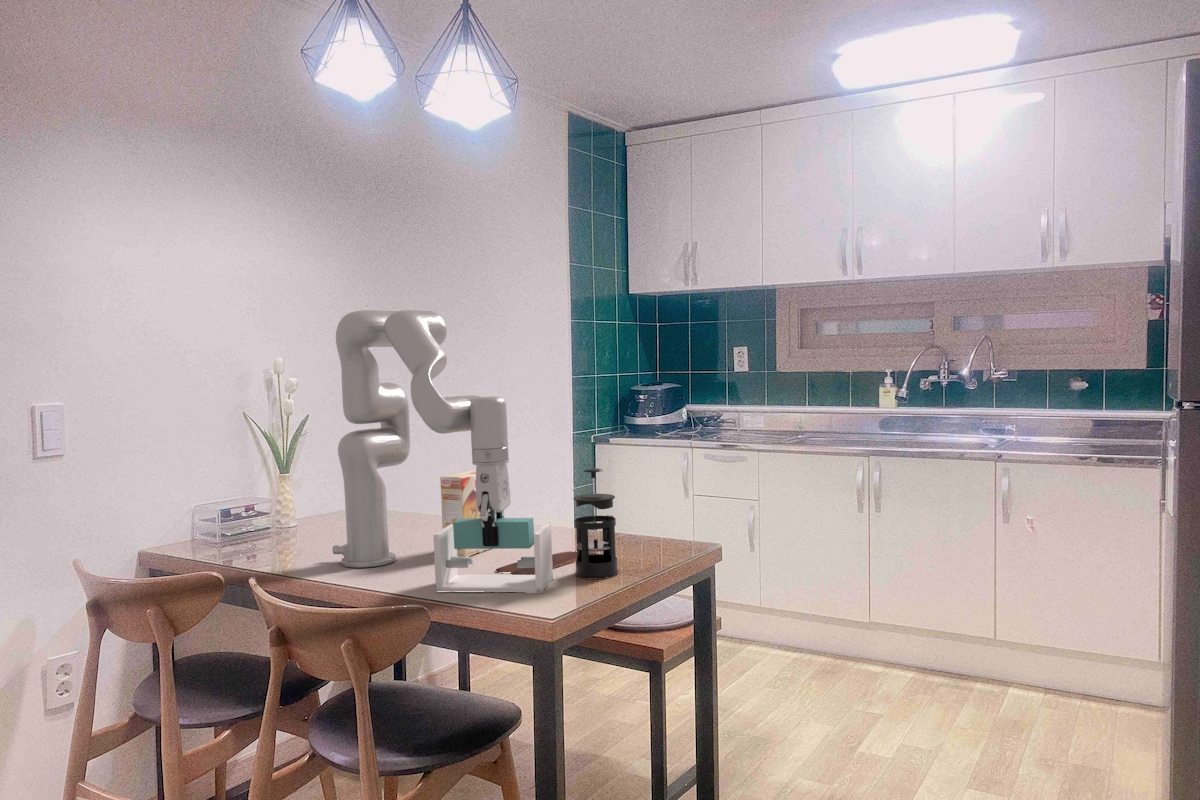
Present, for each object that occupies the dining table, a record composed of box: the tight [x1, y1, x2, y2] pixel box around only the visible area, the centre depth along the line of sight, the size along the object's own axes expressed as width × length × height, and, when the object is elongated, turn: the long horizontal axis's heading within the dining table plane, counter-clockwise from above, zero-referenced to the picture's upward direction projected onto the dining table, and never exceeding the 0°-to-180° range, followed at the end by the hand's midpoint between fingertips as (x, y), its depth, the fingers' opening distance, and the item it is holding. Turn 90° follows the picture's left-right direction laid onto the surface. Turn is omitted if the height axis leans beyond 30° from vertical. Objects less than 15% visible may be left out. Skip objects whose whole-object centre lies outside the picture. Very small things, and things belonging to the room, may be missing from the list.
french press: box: [573, 467, 619, 579], centre depth 196 cm, size 12×9×23 cm
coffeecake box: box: [439, 469, 490, 557], centre depth 223 cm, size 15×7×20 cm, turn 151°
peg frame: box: [433, 523, 554, 594], centre depth 188 cm, size 22×11×12 cm, turn 81°
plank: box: [453, 517, 535, 550], centre depth 188 cm, size 16×4×6 cm, turn 81°
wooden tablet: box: [495, 550, 597, 575], centre depth 208 cm, size 26×2×10 cm
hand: (494, 542), depth 188 cm, fingers closed on plank, 4 cm apart
